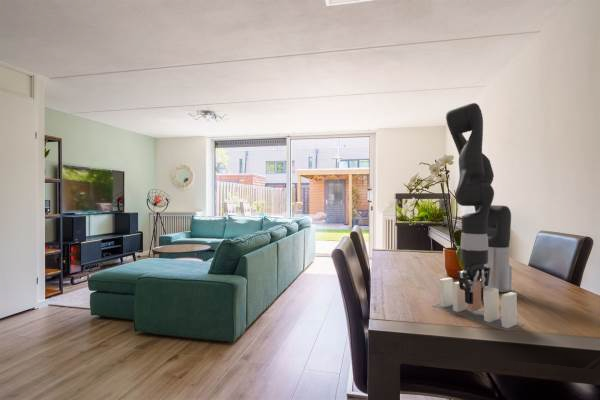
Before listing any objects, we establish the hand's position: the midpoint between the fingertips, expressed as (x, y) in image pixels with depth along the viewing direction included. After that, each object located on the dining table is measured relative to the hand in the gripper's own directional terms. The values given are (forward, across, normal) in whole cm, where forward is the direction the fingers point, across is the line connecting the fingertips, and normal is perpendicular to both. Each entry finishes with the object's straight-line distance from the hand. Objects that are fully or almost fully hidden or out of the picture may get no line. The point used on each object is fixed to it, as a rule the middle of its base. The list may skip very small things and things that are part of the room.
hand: (474, 301), depth 101 cm
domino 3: (+2, 0, 0) cm, 2 cm away
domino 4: (+4, 0, +5) cm, 7 cm away
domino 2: (+4, 0, -5) cm, 6 cm away
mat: (+4, 0, 0) cm, 4 cm away
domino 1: (+4, 0, -10) cm, 11 cm away
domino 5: (+4, 0, +10) cm, 11 cm away
